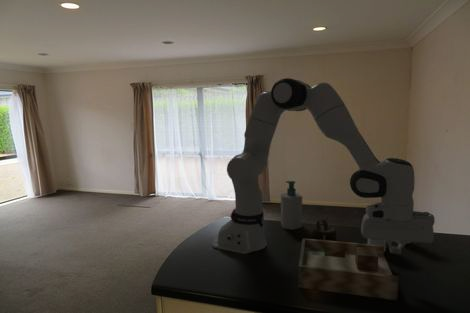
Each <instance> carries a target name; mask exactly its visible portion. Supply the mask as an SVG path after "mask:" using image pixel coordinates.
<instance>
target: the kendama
mask: <svg viewBox="0 0 470 313" xmlns="http://www.w3.org/2000/svg"><path fill="white" fill-rule="evenodd" d="M315 226H316V228H315V227H312V231H311V232H312V233H311V235H312V236H311V237H312V238H311V239H316V240H327V241H337V231H336V228H335V227H333V228H331V229H329V224H328V222H327V221H326V220H325V219H319V220H317V221H316V225H315Z"/></svg>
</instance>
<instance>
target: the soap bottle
mask: <svg viewBox="0 0 470 313" xmlns="http://www.w3.org/2000/svg"><path fill="white" fill-rule="evenodd" d="M285 183H287V184H288V188H287V189H286V191H287V192H285V193H280V224H281V227H282V228H283V229H284V230H285V229H286V230H292V231H294V230H298V229H301V228H302V227H303V196H302V195H301V194H300V193H298V192H296V189H297V188H295V184H296V181H294V180H288V181H287V180H286V181H285Z"/></svg>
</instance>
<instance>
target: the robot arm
mask: <svg viewBox="0 0 470 313" xmlns="http://www.w3.org/2000/svg"><path fill="white" fill-rule="evenodd" d="M306 110H308V111H309V113H310V114H311V116H312V117H313V120H314V121H315V123H316V125H317V127H318V129H319V130H320V132H321V133H322V134H323V135H324V136H325V137H326V138H328V139H331V140H332V141H333V140H334V141H335V142H338V143H340V144H342V145H343V146H345V148H346V149H347V150H348V152H349V154H350V155H351V156H352V158H353V160H354V161H355V163H356V164H357V166H358V168H359V169H358V170H356V171H354V173H352V175H351V177H350V179H349V187H350V189H351V190H352V192H353V193H354V194H355V195H356V196H357V197H360V198H363V199H364V198H365V199H375V198H377V199H378V198H380V199H381V202H376V203H372V204H369V205H367V206H365V214H364V215H363V217H362V220H361V226H360V233H361V235H362V237H363V238H364V239H367V240H368V239H382V240H386V244H388V247H389V253H390V254H396V255H397V254H398V255H400V254H402V250H403V248H404V247H405V246H406V244H405V242H406V241H410V242H411V243H412V242H413V243H416V242H417V243H424V244H425V243H426V244H431V243H432V242H434V240H435V233H434V224H435V216H434V215H433V213H430V212H428V211H414V206H415V205H414V203H415V202H414V198H413V194H414V192H415V170H414V165H413V164H411V163H410V162H409V161H407V160H405V159H402V158H394V157H389V158H385V159H384V160H383V161H380V160H378V159H377V157H376V156H375V155H374V152H373V151H372V150H371V149H370V146H369V145H368V143H367V142H366V141H365V139H364V137H363V136H362V134H361V132H360V131H359V129H358V127H357V125H356V123H355V121H354V119H353V117H352V114H351V113H350V112H349V109H348V108H347V106H346V104H345V103H344V100H343V99H342V97H341V96H340V95H339V93H338V92H337V91H336V89H335V88H334V87H333V86H332V85H331V84H330V83H327V82H319V83H316V84H314V85H313V86H311V85H310V84H308V83H305V82H304V81H301V80H300V79H293V78H290V77H287V78H281V79H279V80H277V81H276V82H275V83H274V84H273V86H272V87H271V90H268V91H263V92H261V93H259V96H258V97H257V98H256V101H255V103H254V105H253V107H252V110H251V113H250V115H249V119H248V121H247V124H246V128H245V130H244V134H243V136H244V146H243V150H242V152H241V153H240V154H236V155H234V156H233V157H232V159H230V160H229V161H228V163H227V166H226V172H227V176H228V177H229V179H230V180H231V181H232V185H233V191H234V197H235V199H234V202H235V208H234V209H232V212H231V213H230V220H229V221H228V222H226V223H225V224H223V225H222V226H221V227H220V229H219V231H218V235H217V236H216V237H215V238H214V240H213V241H212V247H213V248H214V249H219V250H223V251H229V252H233V253H237V254H242V255H245V254H246V255H247V254H249V253H252V252H258V251H261V250H263V249H265V248H266V246H267V240H266V237H265V231H264V224H265V223H264V222H265V215H264V211H263V192H262V191H261V189H260V188H261V187H260V184H259V176H260V175H262V174H263V173H264V171H265V170H266V168H267V166H268V159H269V154H270V150H271V144H272V140H273V138H274V136H275V133H276V129H277V126H278V124H279V121H280V118H281V115H282V114H283V113H284V112H285V111H288V112H303V111H306ZM392 240H396V241H399V242H400V244H397V246H394V245H392V243H393V241H392Z"/></svg>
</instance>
